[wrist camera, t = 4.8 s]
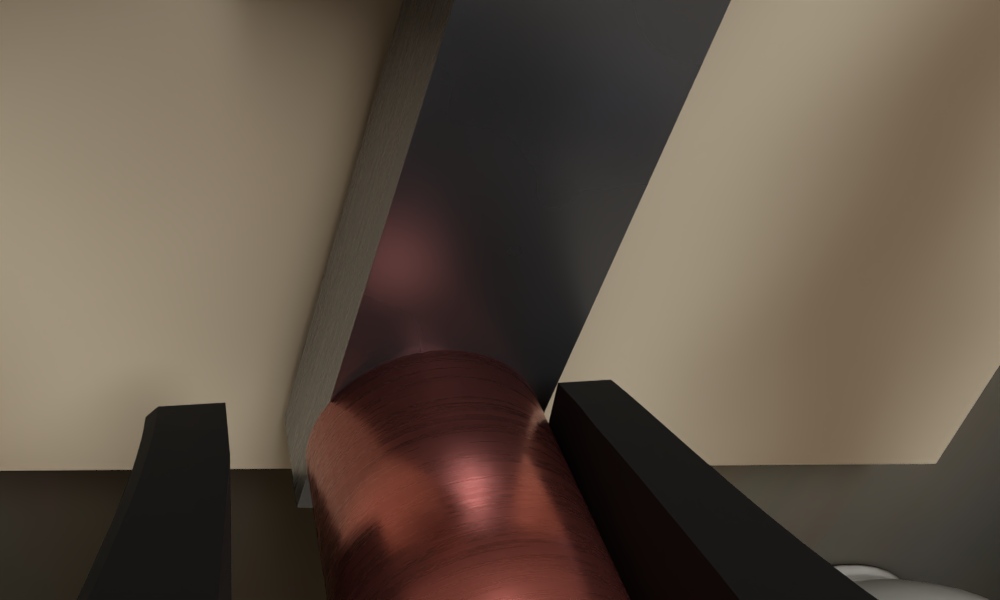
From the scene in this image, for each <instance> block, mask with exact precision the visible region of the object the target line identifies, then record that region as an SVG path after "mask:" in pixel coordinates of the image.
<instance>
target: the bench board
mask: <svg viewBox="0 0 1000 600" xmlns="http://www.w3.org/2000/svg"><path fill="white" fill-rule="evenodd" d="M401 3H402V0H0V471H30V470H132V469H133V466H134V462H135V459H136V456H137V453H138V449H139V445H140V442H141V438H142V434H143V429H144V423H145V418H146V416H147V415H148V414H150V413H151V412H152V411H153V410H154V409H156V408H157V407H158V406H175V405H191V404H208V403H226V414H227V425H228V436H229V448H230V469H292V468H291V461H290V454H289V447H288V440H287V433H286V426H285V419H284V416H285V412H286V408H287V405H288V401H289V398H290V394H291V391H292V387H293V384H294V380H295V377H296V373H297V370H298V366H299V363H300V359H301V356H302V352H303V349H304V345H305V342H306V338H307V334H308V331H309V327H310V324H311V320H312V317H313V313H314V310H315V306H316V303H317V299H318V296H319V292H320V289H321V285H322V282H323V278H324V275H325V271H326V268H327V264H328V261H329V257H330V253H331V250H332V246H333V243H334V239H335V236H336V232H337V229H338V225H339V222H340V218H341V215H342V211H343V208H344V204H345V201H346V197H347V194H348V190H349V187H350V183H351V179H352V176H353V172H354V169H355V165H356V162H357V158H358V155H359V151H360V148H361V144H362V141H363V137H364V134H365V130H366V127H367V123H368V120H369V116H370V113H371V109H372V105H373V102H374V98H375V95H376V91H377V88H378V84H379V81H380V77H381V74H382V70H383V67H384V63H385V60H386V56H387V53H388V49H389V46H390V42H391V39H392V35H393V32H394V28H395V24H396V21H397V17H398V14H399V10H400V7H401ZM999 365H1000V0H731V2H730V4H729V6H728V8H727V10H726V13H725V15H724V17H723V19H722V22H721V24H720V26H719V28H718V30H717V33H716V35H715V37H714V39H713V41H712V44H711V46H710V48H709V50H708V52H707V55H706V57H705V59H704V61H703V63H702V66H701V68H700V70H699V72H698V74H697V77H696V79H695V81H694V83H693V86H692V88H691V90H690V92H689V94H688V97H687V99H686V101H685V103H684V105H683V108H682V110H681V112H680V114H679V116H678V119H677V121H676V123H675V125H674V127H673V130H672V132H671V134H670V136H669V138H668V141H667V143H666V145H665V147H664V150H663V152H662V154H661V156H660V158H659V161H658V163H657V165H656V167H655V169H654V172H653V174H652V176H651V178H650V180H649V183H648V185H647V187H646V189H645V191H644V194H643V196H642V198H641V200H640V202H639V205H638V207H637V209H636V211H635V214H634V216H633V218H632V220H631V222H630V225H629V227H628V229H627V231H626V233H625V236H624V238H623V240H622V242H621V244H620V247H619V249H618V251H617V253H616V255H615V258H614V260H613V262H612V264H611V266H610V269H609V271H608V273H607V275H606V278H605V280H604V282H603V284H602V286H601V289H600V291H599V293H598V295H597V297H596V300H595V302H594V304H593V306H592V308H591V311H590V313H589V315H588V317H587V319H586V322H585V324H584V326H583V328H582V331H581V333H580V335H579V337H578V339H577V342H576V344H575V346H574V348H573V350H572V353H571V355H570V357H569V359H568V361H567V364H566V366H565V368H564V370H563V372H562V375H561V377H560V379H559V381H558V383H561V382H578V381H595V380H612V381H613V382H615V383H616V384H617V385H618V386H619V387H621V388H622V389H623V390H624V391H626V392H627V393H628V394H629V395H630V396H631V397H633V398H634V399H635V400H636V401H637V402H638V403H639V404H641V405H642V406H643V407H644V408H645V409H646V410H647V411H649V412H650V413H651V414H652V415H653V416H654V417H655V418H657V419H658V420H659V421H660V422H661V423H662V424H663V425H664V426H666V427H667V428H668V429H669V430H670V431H671V432H672V433H674V434H675V435H676V436H677V437H678V438H679V439H680V440H681V441H683V442H684V443H685V444H686V445H687V446H688V447H689V448H691V449H692V450H693V451H694V452H695V453H696V454H697V455H698V456H700V457H701V458H702V459H703V460H704V461H705V462H706V463H708V464H709V465H831V464H936V463H937V461H938V459H939V458H940V456H941V455H942V453H943V452H944V450H945V449H946V447H947V446H948V444H949V442H950V441H951V439H952V438H953V436H954V435H955V433H956V432H957V430H958V429H959V427H960V425H961V424H962V422H963V421H964V419H965V418H966V416H967V415H968V413H969V412H970V410H971V408H972V407H973V405H974V404H975V402H976V401H977V399H978V398H979V396H980V395H981V393H982V391H983V390H984V388H985V387H986V385H987V384H988V382H989V381H990V379H991V378H992V376H993V374H994V373H995V371H996V370H997V368H998V367H999ZM558 383H557V385H558ZM556 389H557V386H556V388H555V390H554V392H553V395H552V397H551V399H550V401H549V403H548V406H547V408H546V410H545V412H544V415H545V417H546V419H547V421H548V423H549V419H550V415H551V411H552V406H553V402H554V398H555V393H556Z"/></svg>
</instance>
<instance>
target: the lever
mask: <svg viewBox="0 0 1000 600" xmlns="http://www.w3.org/2000/svg"><path fill="white" fill-rule="evenodd" d="M730 2H731V0H402V3H401V7H400V10H399V14H398V17H397V21H396V24H395V28H394V32H393V35H392V39H391V42H390V46H389V49H388V53H387V56H386V60H385V63H384V67H383V70H382V74H381V77H380V81H379V84H378V88H377V91H376V95H375V98H374V102H373V105H372V109H371V113H370V116H369V120H368V123H367V127H366V130H365V134H364V137H363V141H362V144H361V148H360V151H359V155H358V158H357V162H356V165H355V169H354V172H353V176H352V179H351V183H350V187H349V190H348V194H347V197H346V201H345V204H344V208H343V211H342V215H341V218H340V222H339V225H338V229H337V232H336V236H335V239H334V243H333V246H332V250H331V253H330V257H329V261H328V264H327V268H326V271H325V275H324V278H323V282H322V285H321V289H320V292H319V296H318V299H317V303H316V306H315V310H314V313H313V317H312V320H311V324H310V327H309V331H308V334H307V338H306V342H305V345H304V349H303V352H302V356H301V359H300V363H299V366H298V370H297V373H296V377H295V380H294V384H293V387H292V391H291V394H290V398H289V401H288V405H287V408H286V412H285V416H284V419H285V426H286V433H287V440H288V447H289V454H290V461H291V468H292V476H293V483H294V490H295V497H296V504H297V508H313V512H314V518H315V525H316V531H317V537H318V544H319V550H320V556H321V563H322V569H323V575H324V582H325V588H326V594H327V600H630V598H629V596H628V593H627V591H626V589H625V587H624V585H623V583H622V581H621V578H620V576H619V574H618V572H617V570H616V568H615V565H614V563H613V561H612V559H611V557H610V555H609V553H608V550H607V548H606V546H605V544H604V542H603V540H602V537H601V535H600V533H599V531H598V529H597V527H596V524H595V522H594V520H593V518H592V516H591V514H590V512H589V509H588V507H587V505H586V503H585V501H584V499H583V496H582V494H581V492H580V490H579V488H578V486H577V484H576V481H575V479H574V477H573V475H572V473H571V471H570V468H569V466H568V464H567V462H566V460H565V458H564V456H563V453H562V451H561V449H560V447H559V445H558V443H557V440H556V438H555V436H554V434H553V432H552V430H551V428H550V425H549V423H548V421H547V419H546V417H545V415H544V412H545V410H546V408H547V406H548V403H549V401H550V399H551V397H552V395H553V392H554V390H555V388H556V386H557V383H558V381H559V379H560V377H561V375H562V372H563V370H564V368H565V366H566V364H567V361H568V359H569V357H570V355H571V353H572V350H573V348H574V346H575V344H576V342H577V339H578V337H579V335H580V333H581V331H582V328H583V326H584V324H585V322H586V319H587V317H588V315H589V313H590V311H591V308H592V306H593V304H594V302H595V300H596V297H597V295H598V293H599V291H600V289H601V286H602V284H603V282H604V280H605V278H606V275H607V273H608V271H609V269H610V266H611V264H612V262H613V260H614V258H615V255H616V253H617V251H618V249H619V247H620V244H621V242H622V240H623V238H624V236H625V233H626V231H627V229H628V227H629V225H630V222H631V220H632V218H633V216H634V214H635V211H636V209H637V207H638V205H639V202H640V200H641V198H642V196H643V194H644V191H645V189H646V187H647V185H648V183H649V180H650V178H651V176H652V174H653V172H654V169H655V167H656V165H657V163H658V161H659V158H660V156H661V154H662V152H663V150H664V147H665V145H666V143H667V141H668V138H669V136H670V134H671V132H672V130H673V127H674V125H675V123H676V121H677V119H678V116H679V114H680V112H681V110H682V108H683V105H684V103H685V101H686V99H687V97H688V94H689V92H690V90H691V88H692V86H693V83H694V81H695V79H696V77H697V74H698V72H699V70H700V68H701V66H702V63H703V61H704V59H705V57H706V55H707V52H708V50H709V48H710V46H711V44H712V41H713V39H714V37H715V35H716V33H717V30H718V28H719V26H720V24H721V22H722V19H723V17H724V15H725V13H726V10H727V8H728V6H729V4H730Z"/></svg>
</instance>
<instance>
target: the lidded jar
mask: <svg viewBox="0 0 1000 600" xmlns="http://www.w3.org/2000/svg"><path fill="white" fill-rule="evenodd" d="M833 566H834V567H835V568H836V569H838V570H839V571H840V572H841V573H843V574H844V575H845V576H847V577H848V578H849V579H851V580H852V581H853V582H855V583H856V584H857V585H859V586H860V587H861V588H863V589H864V590H865V591H867V592H868V593H870V594H871V595H872V596H874V597H875V598H877V599H878V600H989V599H987V598H984V597H982V596H979V595H976V594H973V593H970V592H967V591H964V590H960V589H956V588H952V587H947V586H943V585H939V584H934V583H927V582H919V581H910V580H901V579H899V578H898V577H897V576H895V575H894V574H892V573H891V572H889V571H887V570H884V569H881V568H878V567H875V566H869V565H861V564H843V565H833Z"/></svg>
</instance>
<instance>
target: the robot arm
mask: <svg viewBox="0 0 1000 600" xmlns="http://www.w3.org/2000/svg"><path fill="white" fill-rule="evenodd" d="M549 425H550V428H551V430H552V432H553V434H554V436H555V438H556V440H557V443H558V445H559V447H560V449H561V451H562V453H563V456H564V458H565V460H566V462H567V464H568V466H569V468H570V471H571V473H572V475H573V477H574V479H575V481H576V484H577V486H578V488H579V490H580V492H581V494H582V496H583V499H584V501H585V503H586V505H587V507H588V509H589V512H590V514H591V516H592V518H593V520H594V522H595V524H596V527H597V529H598V531H599V533H600V535H601V537H602V540H603V542H604V544H605V546H606V548H607V550H608V553H609V555H610V557H611V559H612V561H613V563H614V565H615V568H616V570H617V572H618V574H619V576H620V578H621V581H622V583H623V585H624V587H625V589H626V591H627V593H628V596H629V598H630V600H878V599H877V598H875V597H874V596H872V595H871V594H870V593H868V592H867V591H865V590H864V589H863V588H861V587H860V586H859V585H857V584H856V583H855V582H853V581H852V580H851V579H849V578H848V577H847V576H845V575H844V574H843V573H841V572H840V571H839V570H838V569H836V568H835V567H834V566H832V565H831V564H830V563H828V562H827V561H826V560H824V559H823V558H822V557H820V556H819V555H818V554H817V553H815V552H814V551H813V550H811V549H810V548H809V547H807V546H806V545H805V544H803V543H802V542H801V541H800V540H798V539H797V538H796V537H795V536H794V535H792V534H791V533H790V532H789V531H787V530H786V529H785V528H784V527H782V526H781V525H780V524H779V523H777V522H776V521H775V520H774V519H772V518H771V517H770V516H769V515H768V514H766V513H765V512H764V511H763V510H762V509H760V508H759V507H758V506H757V505H756V504H754V503H753V502H752V501H751V500H750V499H748V498H747V497H746V496H745V495H744V494H742V493H741V492H740V491H739V490H738V489H737V488H735V487H734V486H733V485H732V484H731V483H730V482H728V481H727V480H726V479H725V478H724V477H723V476H721V475H720V474H719V473H718V472H717V471H716V470H714V469H713V468H712V467H711V466H710V465H709V464H708V463H706V462H705V461H704V460H703V459H702V458H701V457H700V456H698V455H697V454H696V453H695V452H694V451H693V450H692V449H691V448H689V447H688V446H687V445H686V444H685V443H684V442H683V441H681V440H680V439H679V438H678V437H677V436H676V435H675V434H674V433H672V432H671V431H670V430H669V429H668V428H667V427H666V426H664V425H663V424H662V423H661V422H660V421H659V420H658V419H657V418H655V417H654V416H653V415H652V414H651V413H650V412H649V411H647V410H646V409H645V408H644V407H643V406H642V405H641V404H639V403H638V402H637V401H636V400H635V399H634V398H633V397H631V396H630V395H629V394H628V393H627V392H626V391H624V390H623V389H622V388H621V387H619V386H618V385H617V384H616V383H615V382H613V381H612V380H595V381H578V382H561V383H558V385H557V389H556V393H555V398H554V402H553V406H552V411H551V415H550V419H549ZM77 600H231V498H230V448H229V436H228V425H227V414H226V403H208V404H191V405H175V406H158V407H157V408H156V409H154V410H153V411H152V412H151V413H150V414H148V415H147V416H146V418H145V423H144V429H143V434H142V438H141V442H140V445H139V449H138V453H137V456H136V459H135V462H134V466H133V469H132V472H131V474H130V477H129V480H128V483H127V486H126V488H125V491H124V494H123V496H122V499H121V501H120V504H119V506H118V509H117V512H116V514H115V517H114V519H113V522H112V524H111V526H110V528H109V531H108V533H107V535H106V537H105V539H104V542H103V544H102V546H101V548H100V551H99V553H98V555H97V557H96V559H95V562H94V564H93V566H92V568H91V571H90V573H89V575H88V577H87V579H86V582H85V584H84V586H83V588H82V590H81V592H80V594H79V596H78V598H77Z"/></svg>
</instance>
